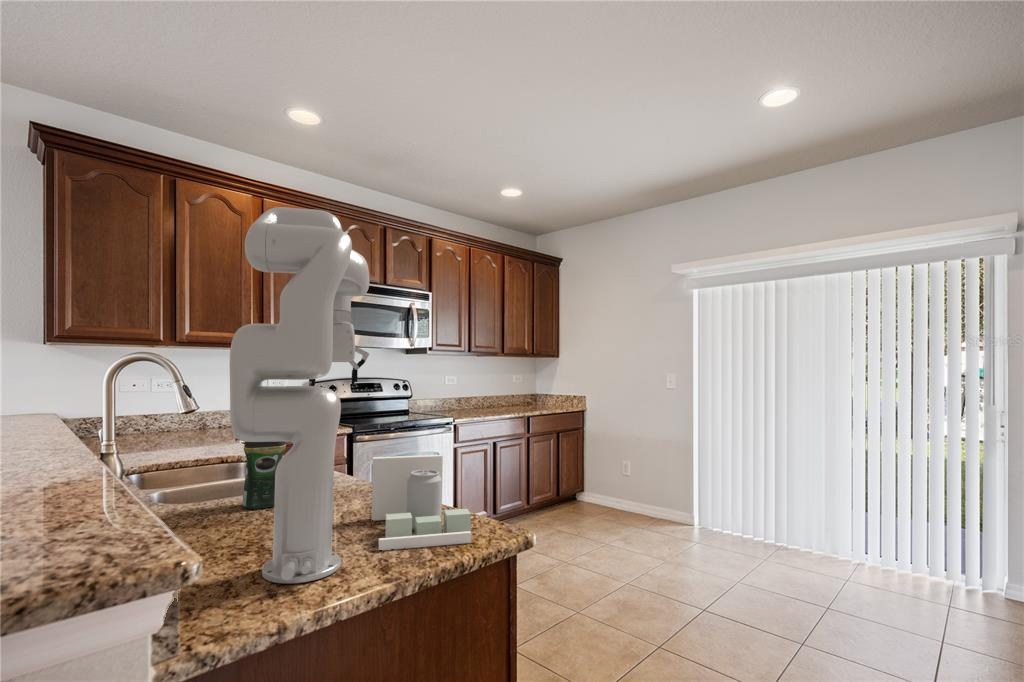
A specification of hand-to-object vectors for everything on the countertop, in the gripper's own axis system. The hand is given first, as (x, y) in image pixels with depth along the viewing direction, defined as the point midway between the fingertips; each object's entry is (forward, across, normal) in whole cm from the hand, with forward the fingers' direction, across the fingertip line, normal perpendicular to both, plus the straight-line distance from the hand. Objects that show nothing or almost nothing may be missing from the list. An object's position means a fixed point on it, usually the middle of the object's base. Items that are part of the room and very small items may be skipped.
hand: (333, 385), depth 132 cm
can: (+31, +21, -24) cm, 44 cm away
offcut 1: (+31, +14, -32) cm, 46 cm away
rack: (+30, +19, -26) cm, 44 cm away
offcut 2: (+31, +26, -32) cm, 51 cm away
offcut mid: (+31, +20, -32) cm, 49 cm away
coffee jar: (+31, -16, +4) cm, 35 cm away
